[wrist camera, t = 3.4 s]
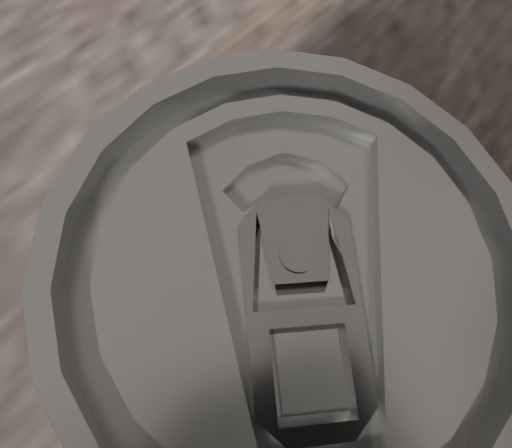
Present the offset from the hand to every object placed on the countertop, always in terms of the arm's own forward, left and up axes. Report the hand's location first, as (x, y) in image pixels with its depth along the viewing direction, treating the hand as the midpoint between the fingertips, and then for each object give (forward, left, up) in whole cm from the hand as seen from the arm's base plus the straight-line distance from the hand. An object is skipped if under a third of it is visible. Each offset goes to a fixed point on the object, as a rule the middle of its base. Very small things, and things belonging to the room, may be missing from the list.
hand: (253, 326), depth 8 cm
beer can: (0, 0, -8) cm, 8 cm away
